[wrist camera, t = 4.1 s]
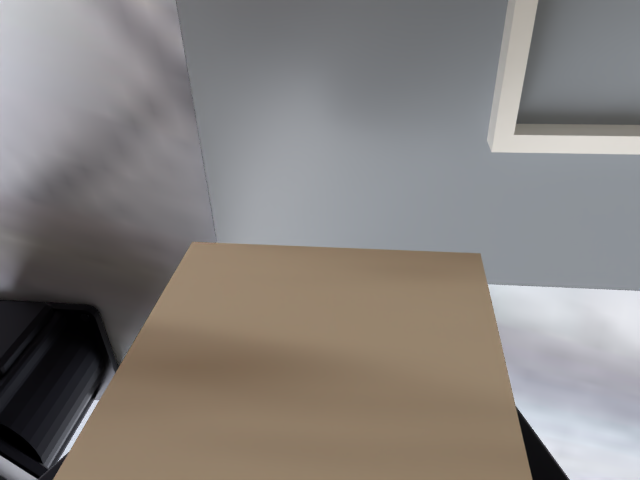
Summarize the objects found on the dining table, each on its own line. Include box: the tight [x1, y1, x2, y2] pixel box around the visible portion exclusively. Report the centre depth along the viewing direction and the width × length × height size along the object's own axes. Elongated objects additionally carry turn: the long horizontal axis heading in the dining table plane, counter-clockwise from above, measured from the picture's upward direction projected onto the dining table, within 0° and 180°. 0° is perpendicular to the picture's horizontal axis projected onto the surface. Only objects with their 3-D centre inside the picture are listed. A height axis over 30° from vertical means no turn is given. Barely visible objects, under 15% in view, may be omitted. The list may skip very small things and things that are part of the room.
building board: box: [176, 0, 640, 291], centre depth 15 cm, size 20×20×2 cm
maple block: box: [53, 242, 532, 480], centre depth 8 cm, size 5×5×5 cm
